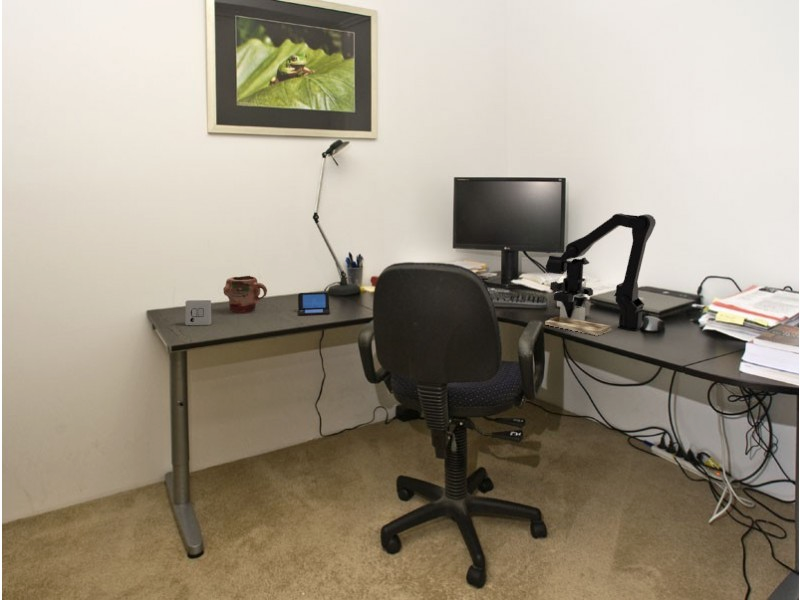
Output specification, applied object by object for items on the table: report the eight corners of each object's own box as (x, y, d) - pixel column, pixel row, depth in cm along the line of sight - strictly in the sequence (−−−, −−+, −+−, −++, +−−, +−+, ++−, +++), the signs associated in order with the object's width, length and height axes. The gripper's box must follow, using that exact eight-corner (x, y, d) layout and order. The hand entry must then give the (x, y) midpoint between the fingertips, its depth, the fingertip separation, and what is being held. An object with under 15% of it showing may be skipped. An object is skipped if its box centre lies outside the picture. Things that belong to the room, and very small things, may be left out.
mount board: (611, 330, 195) (611, 324, 194) (597, 336, 188) (597, 330, 188) (560, 320, 209) (560, 315, 208) (545, 325, 202) (545, 320, 202)
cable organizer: (582, 310, 225) (584, 281, 223) (555, 308, 229) (556, 280, 227) (585, 302, 239) (586, 276, 237) (559, 301, 243) (560, 274, 240)
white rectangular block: (584, 320, 209) (585, 306, 208) (579, 322, 207) (579, 308, 206) (565, 317, 215) (566, 303, 214) (559, 318, 212) (560, 305, 211)
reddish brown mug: (275, 308, 233) (273, 275, 231) (262, 315, 222) (260, 280, 219) (232, 306, 238) (229, 274, 235) (216, 313, 226) (214, 279, 223)
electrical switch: (184, 326, 207) (183, 301, 206) (190, 324, 212) (188, 299, 211) (210, 325, 207) (209, 300, 206) (214, 323, 212) (213, 299, 211)
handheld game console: (298, 316, 220) (297, 298, 219) (298, 310, 231) (297, 293, 229) (330, 315, 222) (329, 297, 220) (329, 309, 232) (328, 291, 231)
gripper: (568, 270, 219) (566, 309, 223) (541, 276, 207) (539, 317, 210) (594, 273, 211) (592, 313, 215) (568, 279, 199) (566, 322, 202)
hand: (572, 316), depth 211 cm, fingers open, 4 cm apart
